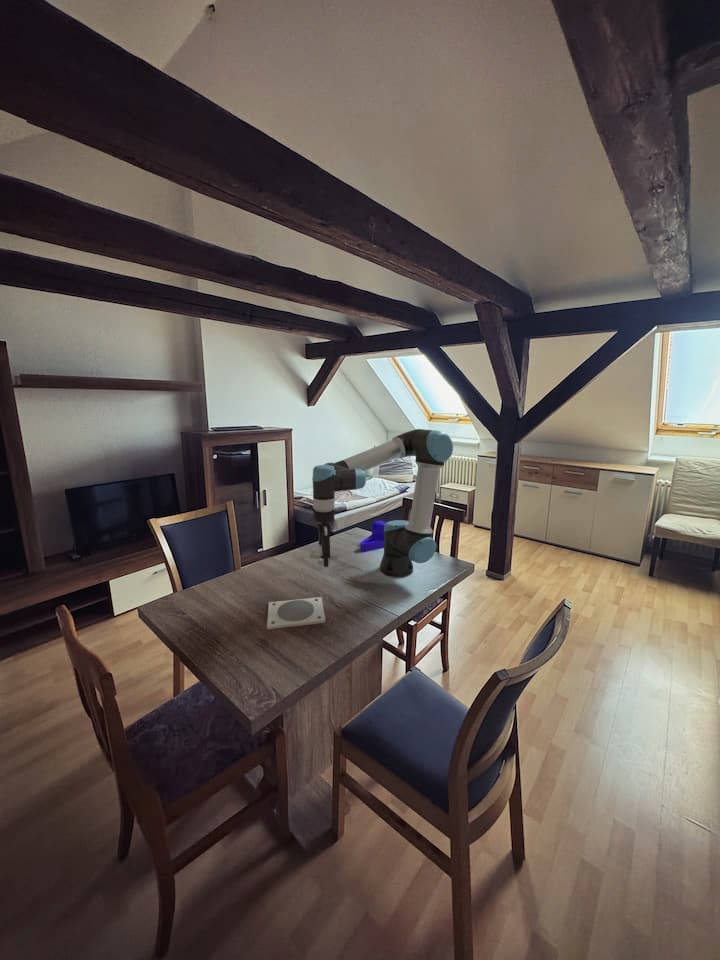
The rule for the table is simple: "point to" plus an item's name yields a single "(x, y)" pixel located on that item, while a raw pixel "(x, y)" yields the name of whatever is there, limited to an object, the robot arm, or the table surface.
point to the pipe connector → (317, 556)
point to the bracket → (374, 538)
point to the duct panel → (295, 613)
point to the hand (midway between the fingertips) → (324, 567)
